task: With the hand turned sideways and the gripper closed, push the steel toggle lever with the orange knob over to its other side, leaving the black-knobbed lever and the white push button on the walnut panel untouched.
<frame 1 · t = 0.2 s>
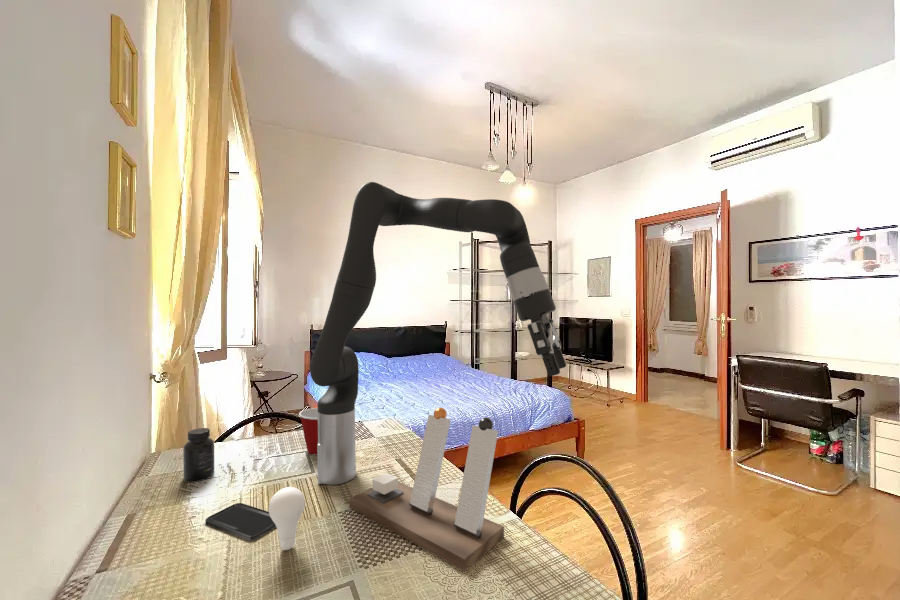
hand: (558, 371, 76), 31 cm above the table, tool tilted 20°, fingers open, 8 cm apart
white button: (385, 485, 86), point 4 cm above the table, slide at 0.0 cm
phone: (244, 525, 80), on the table
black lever: (477, 472, 74), point 12 cm above the table, hinge at -20.0°
walnut panel: (421, 521, 79), on the table
plastic cup: (318, 451, 118), on the table
lightbulb: (287, 550, 71), on the table
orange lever: (431, 457, 82), point 12 cm above the table, hinge at -20.0°
supplement bottle: (199, 477, 101), on the table
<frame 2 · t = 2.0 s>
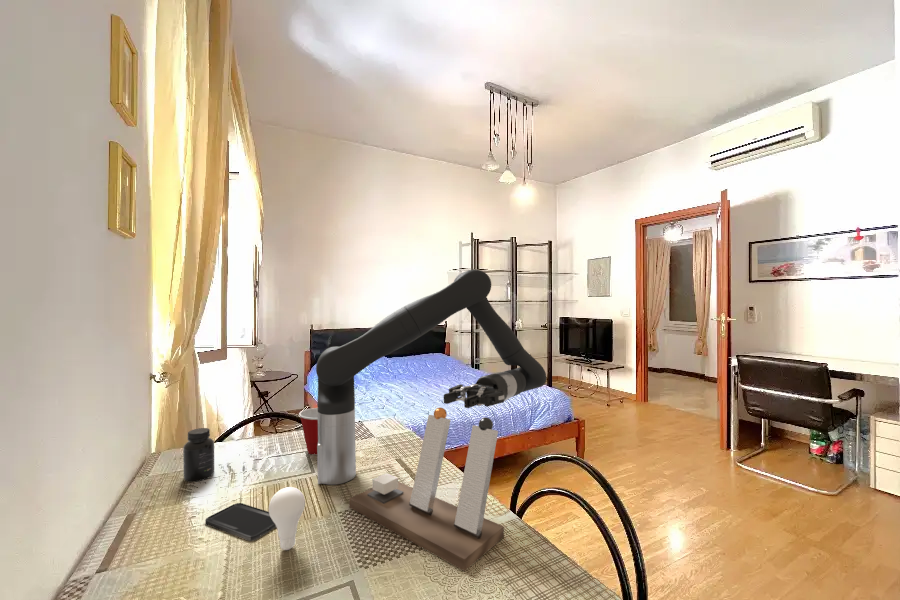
hand: (455, 401, 88), 22 cm above the table, tool horizontal, fingers open, 5 cm apart
nothing on the table moved.
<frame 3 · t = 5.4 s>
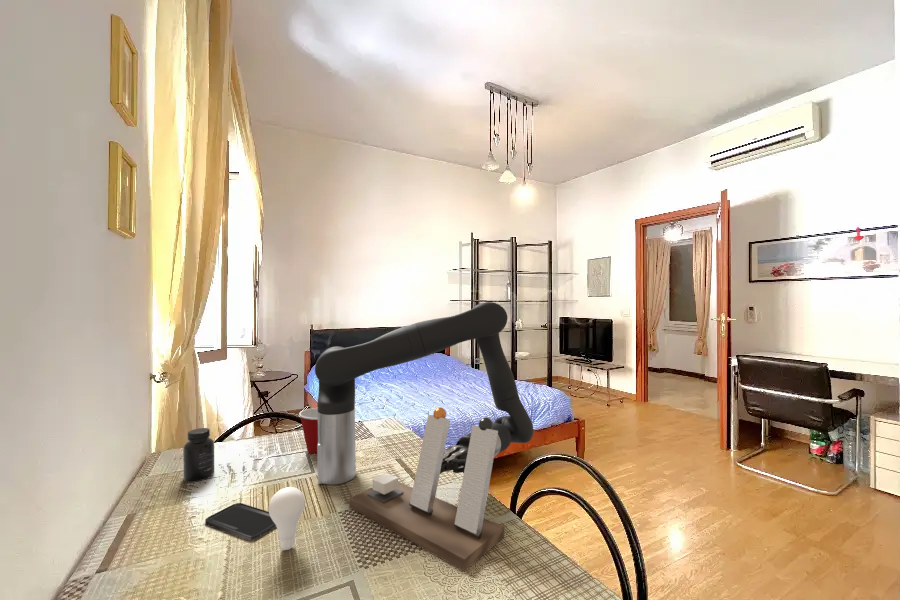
hand: (431, 471, 82), 9 cm above the table, tool horizontal, fingers closed
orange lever: (431, 457, 81), point 12 cm above the table, hinge at -19.6°, touching gripper
everything else where it was.
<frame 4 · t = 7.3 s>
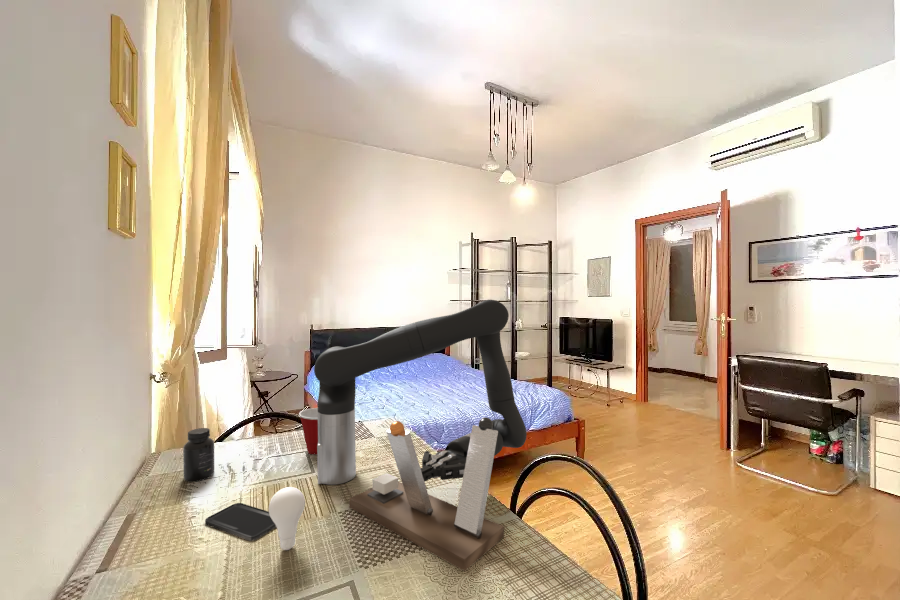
hand: (417, 477, 78), 9 cm above the table, tool horizontal, fingers closed
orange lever: (408, 467, 77), point 12 cm above the table, hinge at 19.2°
everything else where it was.
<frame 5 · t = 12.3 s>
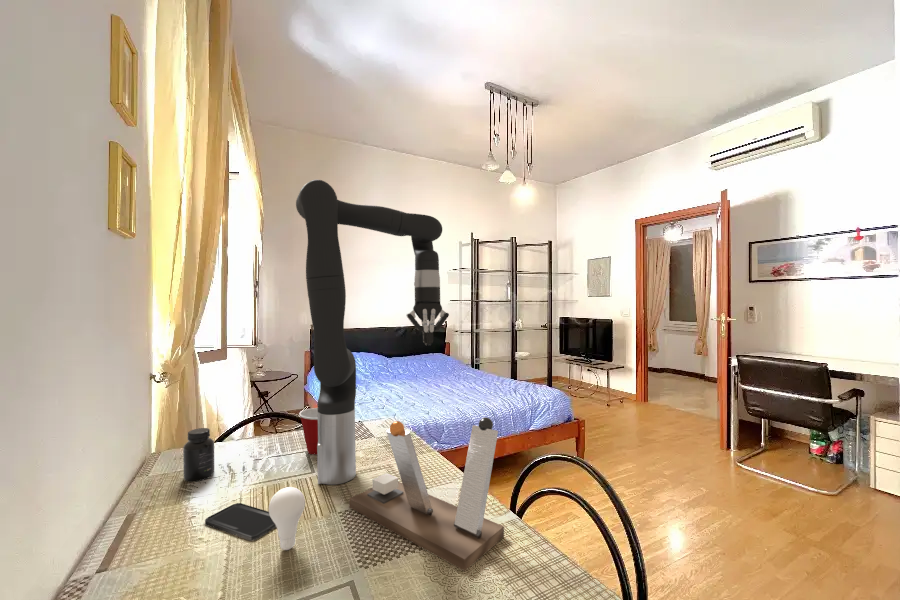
hand: (428, 344, 114), 32 cm above the table, tool pointing down, fingers closed
nothing on the table moved.
at the end: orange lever at +19° (first picture: -20°); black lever at -20° (first picture: -20°); white button slide at 0.0 cm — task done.
